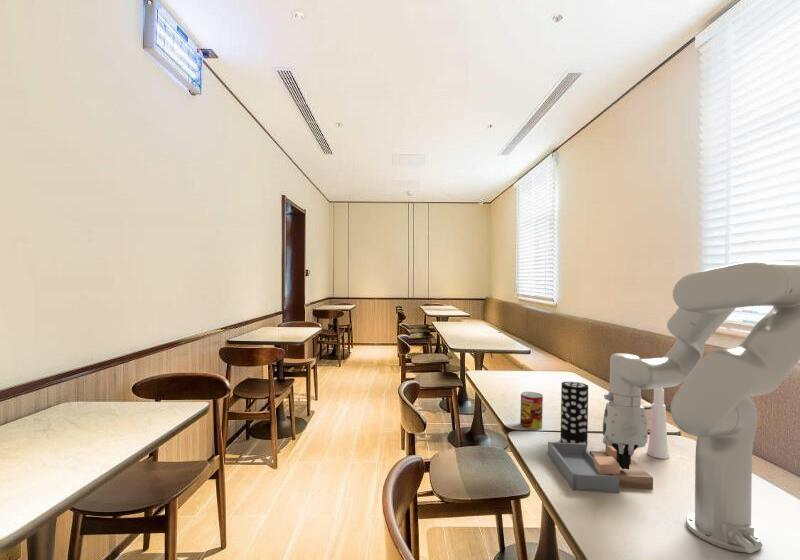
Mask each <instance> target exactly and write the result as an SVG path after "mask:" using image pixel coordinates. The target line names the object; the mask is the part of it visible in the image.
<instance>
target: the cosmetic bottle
mask: <svg viewBox="0 0 800 560" xmlns="http://www.w3.org/2000/svg"><path fill="white" fill-rule="evenodd" d="M651 405H652V411H651V426H650V430H649V436H648V438H649V440H648V446H647V451H646V453H647V455H649V456H651V457H653V458H657V459H661V460H662V459H663V460H667V459H669V458H670V452H669V445H668V435H667V430H668V429H667V411H666V409H667V408H666V404H665V389H664V388H657V389H653V402H652V403H651Z"/></svg>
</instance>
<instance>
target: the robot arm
mask: <svg viewBox="0 0 800 560" xmlns="http://www.w3.org/2000/svg"><path fill="white" fill-rule="evenodd" d="M672 299H673V302H674V303H675V305H676V306H677V307H678V308H677V309H676V310H675V311H674V313H673V314H672V315H671V317H669V319H668V321H667V323H666V326H667V329H668V332H669V333H671V335H672V337H674V338H675V341H674V343H673V345H672V346H671V348H670V349H669V350H668V351H667V352H666V354H665V355H663V356H662V357H651V358H641V357H639V356H638V355H636V354H632V353H623V352H621V353H620V352H615V353H613V354H611V356H610V358H609V359H610V360H609V391H608V394H607V393H606V394H604V396H603V398H604V400H607V401H606V405H605V407H604V408H605V409H604V414H603V421H602V436H603V439H602V443H603V444H604V445H605V446H606V445H609V446H612V447H614V448H615V450H616V451H617V459H616V461H617V462H618V463H619V465H620V467H621V468H622V469H629V465H630V464H631V459H632V455H634V453H633V451H636V450H637V449H638V448H645V447H646V444H647V443H648V441H649V440H648V438H649V435H648V432H649V431H647V420H646V414H645V409H644V407H643V406H641V397H642V390H654V389H657V388H663V389H664V388H673V387H677V386H679V385H680V387H679V388H678V389H677V391H676V392H675V394H674V396H673V397H672V400H671V402H670V414H671V419H672V420H673V422H674V424H675V425H676V426H677V427H678V429H680V430H681V431H682V432H684V433H686V434H687V435H690V436H693V437H697V438H696V441H695V442H696V443H695V455H694V456H695V459H694V460H695V463H694V466H695V468H694V470H695V471H694V512H693V513H692V512H691V513H690V514H688V515H686V517H685V524H686V525H685V526H687V528H688V529H689V530H690V531H691V533H693V534H694V535H695V536H697V537H698V538H700V539H701V540H704V541H705V542H707V543H710V544H711V545H714V546H716V547H719V548H722V549H725V550H728V551H732V552H739V553H748V554H752V553H755V552H757V551H760V550H761V549H762V547H763V543H762V541H761V538H760V537H759V536H758V534H757V533H756V532H755V527H754V526H753V525H752V487H753V486H752V478H753V477H752V476H753V475H752V474H753V471H752V469H753V451H754V449H753V448H754V441H755V436H756V431H757V427H758V422H759V421H758V419H759V417H758V413H759V412H758V411H757V410H758V409H757V406H756V404H755V402H754V401H753V400H752V397H759V396H764V395H768V394H770V393H773V392H774V391H775V390H776V389H778V387H779V386H780V385H781V383H782V382H783V381H784V380H785V379H786V378H787V376H788V375H789V374H790V373H791V371H793V369H794V368H795V367H796V366H797V364H798V363H799V362H800V263H795V262H787V261H772V260H749V261H743V262H739V263H733V264H729V265H725V266H720V267H716V268H714V267H713V268H710V269H705V270H701V271H695V272H692V273H688V274H686V275H684V276H683V277H681V278H680V279H679V280H678V281H677V282H676V283H675V285H674V287H673V289H672ZM757 306H758V307H760V306H761V307H762V306H765V307H766V306H768V307H769V306H770V307H772V308H771V310H770V311H769V312H768V313H767V314H766V315H764V317H763V318H761V319H760V320H759V321H758V322H757V323H756V324H754V326H753V328H752V329H751V331H750V333H748V335H747V336H746V337H745V338H744V339H743V341H742V342H741V343H740V344H739V345H738V346H736V347H734V348H722V349H718V350H717V349H716V350H713V351H711V352H709V353H707V354H706V355H704V353H705V344H706V342H707V341H708V340H709V339H710V338H711V337H712V336H713V335H714V333H715V332H716V331H717V330H718V329H719V328H720V327H721V325H722V324H723V323H725V321H726V320H727V319H728V317H729V316H730V315H731V314H732V313H733V312H734V311H735V309H737V308H746V307H757ZM623 444H624V449H623Z"/></svg>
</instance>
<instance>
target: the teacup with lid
mask: <svg viewBox="0 0 800 560" xmlns="http://www.w3.org/2000/svg"><path fill="white" fill-rule="evenodd" d="M641 406H643V407H644V409H645V414H646V420H647V430H648V431H650V426H651V411H652V403H650V402H648V401H646V400H645V399H643V398H642V396H641Z"/></svg>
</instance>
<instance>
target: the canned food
mask: <svg viewBox="0 0 800 560" xmlns="http://www.w3.org/2000/svg"><path fill="white" fill-rule="evenodd" d="M543 399H544V395H543V394H541V393H540V392H539V393H538V392H536V391H535V392H534V391H523V392H521V393H520V423H519V424H520V427H521V428H523V429H525V430H526V429H527V430H530V431H531V430H532V431H537V430H538V431H539V430H542V429H543V405H544V403H543Z"/></svg>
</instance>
